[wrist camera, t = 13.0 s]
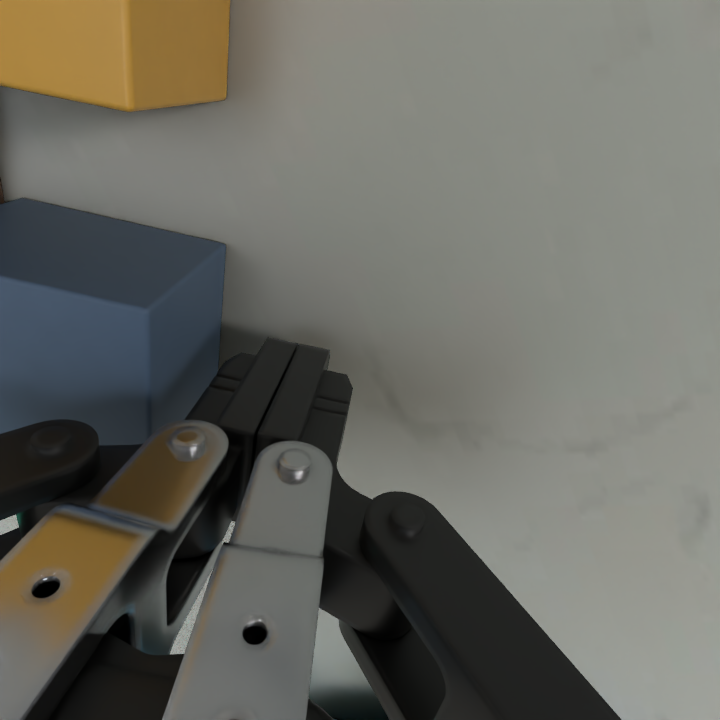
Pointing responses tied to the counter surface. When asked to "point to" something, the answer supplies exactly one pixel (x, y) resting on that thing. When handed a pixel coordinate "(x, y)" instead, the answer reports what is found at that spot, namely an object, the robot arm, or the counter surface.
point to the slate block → (104, 321)
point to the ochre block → (117, 51)
